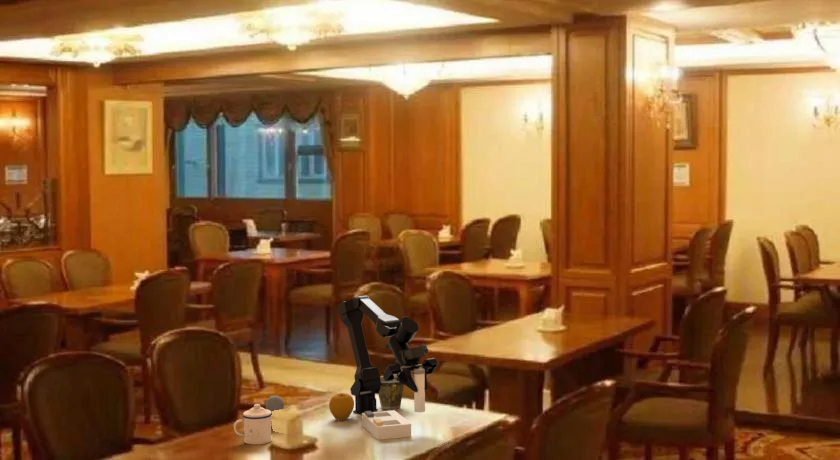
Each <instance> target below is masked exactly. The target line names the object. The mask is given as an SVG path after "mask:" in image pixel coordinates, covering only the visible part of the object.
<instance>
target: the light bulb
mask: <svg viewBox="0 0 840 460" xmlns="http://www.w3.org/2000/svg"><path fill="white" fill-rule="evenodd" d="M284 406H285V402H284V400H283V398H282V397H281V396H278V395H271V396H269V397H268V398H267V399H266V401H265V409H267V410H270V411H271V412H272V411H274V410H279V409H284Z"/></svg>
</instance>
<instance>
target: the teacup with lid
mask: <svg viewBox="0 0 840 460" xmlns="http://www.w3.org/2000/svg"><path fill="white" fill-rule="evenodd" d="M271 415H272V412H271V411H270V410H267V409H266V408H264V407H262V406H261V404H259V403H255V404H254V405H253V407H251V408H249V409H248V410H245V411H244V412H243V413H242V417H243V419H242V418H241V419H237V420H236V421H234V423H233V431H234V432H235V433H236V434H237V435H238V436H242V437H243V441H244V443H246V444H248V445H255V446H258V445H259V446H260V445H265V444H268V443H270V442H271V441H272V440H271V426H273V425H272V421H271ZM240 423H243V432H239V431H238V430H237V425H238V424H240ZM270 440H271V441H270Z"/></svg>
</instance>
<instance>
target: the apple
mask: <svg viewBox="0 0 840 460" xmlns="http://www.w3.org/2000/svg"><path fill="white" fill-rule="evenodd" d="M328 405H329V411H330V413H331V415H332V416H333V417H334V419H335V420H336V421H345V420H347V419H348V418H349V417H350V415H351V414H352V413H353V411H354V408H355V399H354V397H353V395H352V394H348V393H345V392H343V393H342V392H341V393H336V394H334V395H332V396H331V398H330V400H329V404H328Z"/></svg>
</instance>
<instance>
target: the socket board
mask: <svg viewBox="0 0 840 460" xmlns="http://www.w3.org/2000/svg"><path fill="white" fill-rule="evenodd" d="M361 417H362V418H361V419H362V420H361V421H362V422H361V424H362V425H361V426H363V428H365V429H366V430H367V431H368V432H369V433H370V434H371V435H372V437H374V438H375V439H376V440H377V441H378V440H390V439H399V438H411V437H412V424H411V422H409V421H408V420H407V419H406V418H405V417H403V416H402V415H401V414H400V413H399V412H397V411H396V409H393V410H382V411H375V412H371V411H365V413H361Z"/></svg>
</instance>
